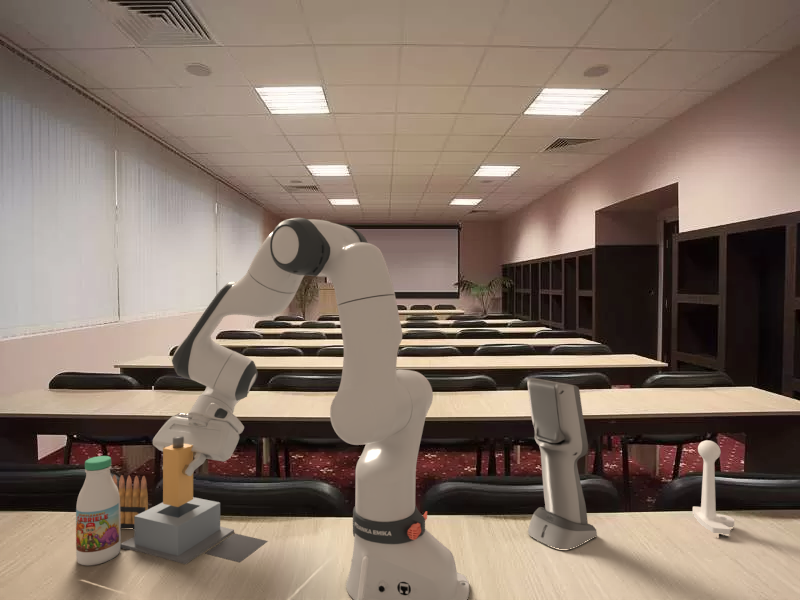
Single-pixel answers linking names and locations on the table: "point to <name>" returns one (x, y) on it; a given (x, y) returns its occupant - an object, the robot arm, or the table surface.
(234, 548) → the mat
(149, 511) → the housing
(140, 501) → the ammunition clip
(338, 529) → the table surface
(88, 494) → the milk bottle
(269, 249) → the robot arm
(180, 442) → the plug
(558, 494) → the thermal camera
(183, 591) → the table surface
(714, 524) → the joystick
